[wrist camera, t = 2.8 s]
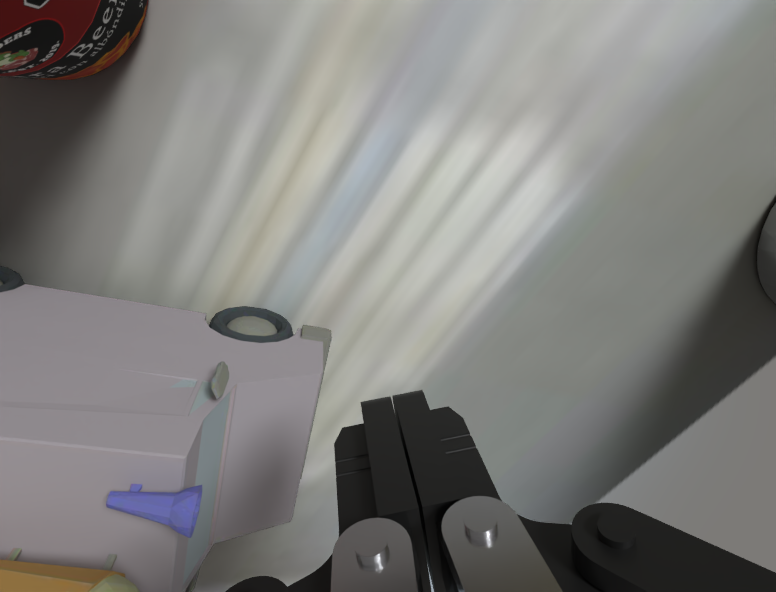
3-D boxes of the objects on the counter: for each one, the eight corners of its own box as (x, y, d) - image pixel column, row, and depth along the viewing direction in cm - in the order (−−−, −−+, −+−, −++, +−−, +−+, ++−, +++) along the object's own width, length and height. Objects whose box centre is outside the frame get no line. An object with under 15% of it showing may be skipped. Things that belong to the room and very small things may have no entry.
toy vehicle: (301, 454, 27) (277, 825, 13) (-116, 408, 23) (-750, 855, 10) (333, 299, 24) (346, 569, 10) (-140, 218, 20) (-1120, 471, 7)
